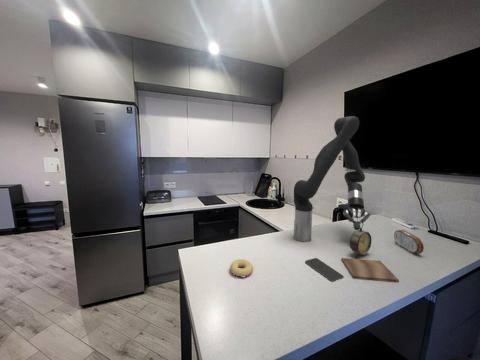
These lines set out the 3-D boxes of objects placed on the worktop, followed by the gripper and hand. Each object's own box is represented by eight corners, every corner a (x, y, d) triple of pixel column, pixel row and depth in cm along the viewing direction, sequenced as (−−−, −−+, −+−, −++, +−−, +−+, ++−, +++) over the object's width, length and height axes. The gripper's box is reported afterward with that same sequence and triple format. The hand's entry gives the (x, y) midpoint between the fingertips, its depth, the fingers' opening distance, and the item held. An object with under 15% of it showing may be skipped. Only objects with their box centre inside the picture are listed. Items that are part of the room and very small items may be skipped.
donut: (245, 267, 88) (226, 270, 84) (246, 257, 88) (227, 259, 84) (256, 277, 78) (235, 280, 75) (257, 265, 79) (236, 268, 75)
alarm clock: (357, 260, 89) (360, 226, 86) (346, 254, 93) (348, 222, 91) (371, 254, 94) (374, 221, 91) (359, 249, 98) (362, 218, 96)
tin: (423, 256, 91) (425, 239, 89) (416, 256, 91) (418, 240, 90) (397, 242, 106) (399, 227, 104) (392, 242, 106) (393, 227, 104)
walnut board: (353, 278, 76) (353, 275, 76) (341, 260, 89) (341, 257, 88) (398, 282, 73) (398, 279, 73) (379, 262, 86) (380, 260, 86)
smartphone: (331, 281, 74) (303, 260, 87) (331, 283, 74) (303, 262, 87) (345, 276, 77) (316, 257, 90) (345, 278, 77) (316, 259, 90)
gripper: (342, 195, 108) (343, 224, 98) (371, 197, 102) (374, 228, 93) (341, 202, 113) (341, 230, 104) (368, 204, 108) (370, 234, 99)
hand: (357, 229), depth 98 cm, fingers closed
